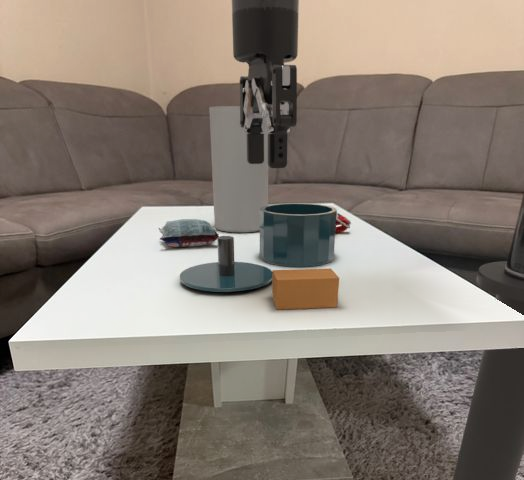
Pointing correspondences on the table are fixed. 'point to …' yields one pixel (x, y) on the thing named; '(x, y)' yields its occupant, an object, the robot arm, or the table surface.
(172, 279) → the table surface
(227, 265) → the lid
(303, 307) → the orange rectangular block
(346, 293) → the table surface
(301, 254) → the pot
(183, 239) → the packaged food
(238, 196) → the cylinder vase
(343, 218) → the tracker holder
